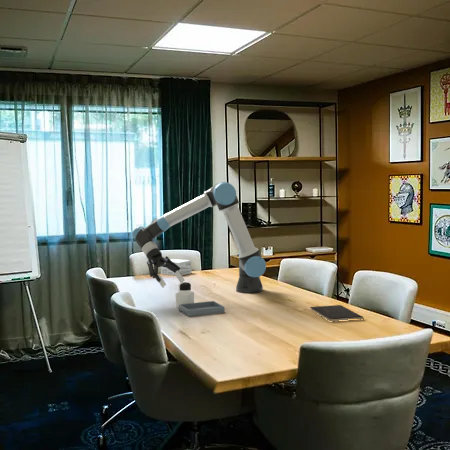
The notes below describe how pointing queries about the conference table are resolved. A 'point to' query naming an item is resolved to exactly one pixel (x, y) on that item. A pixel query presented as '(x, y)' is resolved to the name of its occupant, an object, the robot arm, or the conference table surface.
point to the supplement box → (183, 264)
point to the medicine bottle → (184, 294)
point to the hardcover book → (336, 313)
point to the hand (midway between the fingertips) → (173, 283)
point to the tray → (201, 308)
